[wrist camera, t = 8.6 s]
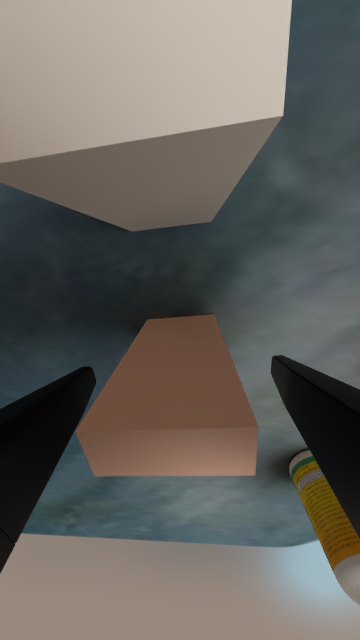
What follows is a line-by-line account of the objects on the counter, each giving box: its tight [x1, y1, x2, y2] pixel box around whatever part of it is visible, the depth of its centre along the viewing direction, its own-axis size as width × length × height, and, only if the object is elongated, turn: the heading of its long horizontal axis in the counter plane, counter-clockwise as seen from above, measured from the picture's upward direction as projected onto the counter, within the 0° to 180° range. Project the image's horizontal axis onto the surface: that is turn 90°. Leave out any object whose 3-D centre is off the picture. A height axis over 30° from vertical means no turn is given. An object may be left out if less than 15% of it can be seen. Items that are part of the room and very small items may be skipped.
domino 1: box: [0, 0, 292, 232], centre depth 7 cm, size 5×2×9 cm, turn 96°
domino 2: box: [75, 314, 258, 476], centre depth 9 cm, size 5×2×9 cm, turn 96°
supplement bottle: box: [289, 450, 360, 605], centre depth 14 cm, size 5×5×10 cm
